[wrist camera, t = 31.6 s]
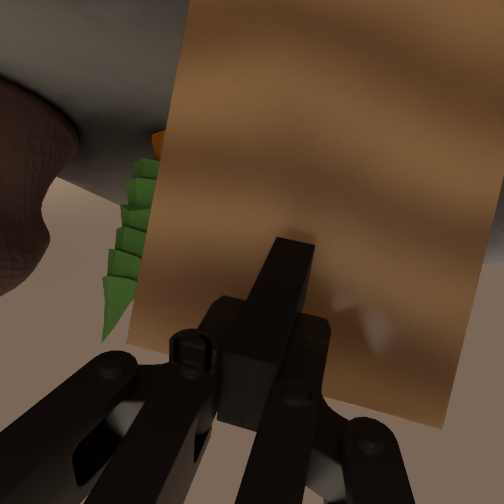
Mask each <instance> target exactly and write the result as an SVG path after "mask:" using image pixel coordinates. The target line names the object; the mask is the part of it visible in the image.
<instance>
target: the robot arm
mask: <svg viewBox="0 0 504 504" xmlns="http://www.w3.org/2000/svg"><path fill="white" fill-rule="evenodd" d="M314 250H315V245H314V244H309V243H305V242H300V241H295V240H290V239H286V238H281V237H276V239H275V241H274V243H273V245H272V247H271V249H270V251H269V254H268V256H267V258H266V260H265V262H264V264H263V266H262V268H261V270H260V272H259V274H258V277H257V279H256V281H255V283H254V285H253V287H252V289H251V291H250V293H249V295H248V298H247V300H243V299H238V298H234V297H230V296H226V295H223V296H221V297H220V298H218V299H217V300H215V301H214V302H212V304H211V306H210V307H209V309H208V311H207V313H206V314H205V316H204V318H203V319H202V322H201V323H200V325H199V326H198V328H197V329H194V328H191V329H184V330H181V331H179V332H177V333H175V334H174V335H173V336H172V337H171V338H170V339H169V362H168V363H164V364H158V365H138V363H137V361H136V359H135V357H134V356H132V355H131V354H130V353H127V352H124V351H108V352H104V353H101V354H100V355H98V356H96V357H95V358H93V359H92V360H91V361H89V362H88V363H87V364H86V365H84V366H83V367H82V368H81V369H79V370H78V371H77V372H76V373H74V374H73V375H72V376H70V377H69V378H68V379H67V380H65V381H64V382H63V383H62V384H60V385H59V386H58V387H57V388H55V389H54V390H53V391H52V392H51V393H49V394H48V395H47V396H46V397H44V398H43V399H42V400H40V401H39V402H38V403H37V404H35V405H34V406H33V407H31V408H30V409H29V410H28V411H26V412H25V413H24V414H23V415H21V416H20V417H19V418H18V419H17V420H15V421H14V422H13V423H11V424H10V425H9V426H8V427H6V428H5V429H4V430H3V431H1V432H0V504H80V503H81V502H82V501H83V500H84V498H85V497H86V496H87V495H88V494H89V493H90V494H89V495H88V497H87V499H86V500H85V502H84V504H183V503H184V501H185V498H186V496H187V493H188V491H189V488H190V486H191V483H192V481H193V478H194V476H195V474H196V471H197V469H198V466H199V464H200V461H201V459H202V456H203V454H204V451H205V449H206V447H207V444H208V441H209V439H210V437H211V431H212V422H213V419H214V417H215V415H216V413H217V420H218V421H221V422H225V423H228V424H231V425H235V426H238V427H242V428H245V429H248V430H252V431H255V432H257V433H256V437H255V440H254V443H253V446H252V449H251V453H250V456H249V459H248V462H247V466H246V469H245V472H244V475H243V478H242V482H241V485H240V488H239V491H238V494H237V498H236V501H235V504H302V500H303V494H304V489H305V486H307V487H308V488H310V489H311V490H313V491H314V492H315V493H317V494H318V495H320V496H321V497H323V498H324V504H415V501H414V497H413V494H412V491H411V487H410V483H409V480H408V476H407V473H406V470H405V466H404V463H403V459H402V456H401V452H400V449H399V445H398V442H397V440H396V438H395V436H394V434H393V432H392V431H391V430H390V429H389V428H388V427H387V426H386V425H384V424H383V423H380V422H379V421H378V420H376V419H372V418H368V417H358V418H354V419H352V420H350V421H349V420H347V419H346V418H344V417H342V416H340V415H339V414H337V413H336V412H334V411H333V410H332V409H331V408H330V407H329V406H328V405H327V403H326V402H325V400H324V398H323V395H322V383H323V377H324V371H325V366H326V360H327V354H328V349H329V343H330V337H331V332H332V330H331V327H330V325H329V322H328V320H327V319H326V318H322V317H318V316H314V315H309V314H305V313H302V309H303V306H304V302H305V297H306V292H307V286H308V281H309V276H310V271H311V265H312V260H313V255H314ZM217 410H218V411H217Z"/></svg>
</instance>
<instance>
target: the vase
mask: <svg viewBox="0 0 504 504" xmlns="http://www.w3.org/2000/svg"><path fill="white" fill-rule="evenodd" d="M78 147H79V141H78V137H77V134H76V131H75V130H74V128H73V126H72V125H71V124H70V123H69V122H68V120H67V119H66V118H65V117H64V116H63V115H62V114H61V113H59V112H58V111H57V110H56V109H55V108H53V107H52V106H50V105H49V104H48V103H46V102H45V101H43V100H42V99H40V98H39V97H37V96H35V95H34V94H32V93H30V92H28V91H27V90H25V89H23V88H21V87H19V86H17V85H15V84H13V83H11V82H9V81H7V80H4V79H2V78H0V296H2V295H4V294H5V293H7V292H9V291H11V290H12V289H14V288H16V287H17V286H18V285H19V284H21V283H22V282H23V281H24V280H26V278H27V277H28V276H29V275H30V274H31V273H32V272H33V271H34V269H35V268H36V266H37V264H38V263H39V262H40V260H41V258H42V256H43V255H44V253H45V251H46V249H47V248H48V246H49V243H50V234H49V231H48V229H47V227H46V225H45V223H44V221H43V218H42V213H41V207H42V201H43V199H44V197H45V195H46V193H47V190H48V188H49V186H50V185H51V183H52V182H53V180H54V179H55V178H56V176H57V175H58V174H59V172H60V171H61V170H62V169H63V168H64V167H65V166H66V165H67V164H68V163H69V162H70V161H71V160H72V159H73V158H74V157H75V155H76V153H77V151H78Z"/></svg>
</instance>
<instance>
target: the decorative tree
mask: <svg viewBox="0 0 504 504" xmlns="http://www.w3.org/2000/svg"><path fill="white" fill-rule="evenodd" d="M164 137H165V130H163V131H161V132H158V133H155V134H152V143H153V150H154V156H155V160H150V159H146V158H142V159H141V160H139V161H137V162H136V163H134V164H133V179H132V180H130V181H128V182H126V183H125V186H126V192H127V197H128V202H129V204H128V205H120V206H121V217H122V227H121V228H118V229H117V231H116V244H115V249H109V257H108V273H107V276H106V277H103V286H104V296H105V313H104V328H103V335H102V342H103V341H104V340H105V339H106V337H107V336H108V335H109V334H110V332H111V331H112V330H113V329H114V327H115V326H116V324H117V322H118V321H119V319H120V318H121V316H122V314H123V313H124V311H125V309H126V308H127V306H128V305H129V304H130V303H131V301H132V300H133V299H134V298H135V293H136V287H137V282H138V277H139V271H140V266H141V260H142V255H143V250H144V244H145V239H146V233H147V228H148V223H149V217H150V212H151V207H152V201H153V196H154V190H155V185H156V180H157V174H158V169H159V163H160V158H161V153H162V147H163V142H164ZM102 342H101V343H102Z"/></svg>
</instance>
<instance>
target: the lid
mask: <svg viewBox="0 0 504 504" xmlns="http://www.w3.org/2000/svg"><path fill="white" fill-rule="evenodd" d="M503 177H504V0H190V2H189V7H188V13H187V18H186V23H185V29H184V34H183V40H182V45H181V50H180V56H179V61H178V67H177V72H176V77H175V83H174V88H173V93H172V99H171V104H170V110H169V115H168V120H167V126H166V131H165V137H164V142H163V147H162V153H161V158H160V163H159V169H158V174H157V180H156V185H155V190H154V196H153V201H152V207H151V212H150V217H149V223H148V228H147V233H146V239H145V244H144V250H143V255H142V260H141V266H140V271H139V277H138V282H137V287H136V293H135V298H134V304H133V309H132V314H131V320H130V325H129V330H128V336H127V341H126V343H127V344H130V345H134V346H137V347H141V348H145V349H149V350H152V351H156V352H160V353H163V354H167V355H169V339H170V338H171V337H172V336H173V335H174V334H175V333H177V332H179V331H181V330H184V329H191V328H194V329H197V328H198V326H199V325H200V323H201V322H202V319H203V318H204V316H205V314H206V313H207V311H208V309H209V307H210V306H211V304H212V302H214V301H215V300H217V299H218V298H220V297H221V296H223V295H226V296H230V297H234V298H238V299H243V300H247V298H248V295H249V293H250V291H251V289H252V287H253V285H254V283H255V281H256V279H257V277H258V274H259V272H260V270H261V268H262V266H263V264H264V262H265V260H266V258H267V256H268V254H269V251H270V249H271V247H272V245H273V243H274V241H275V239H276V237H281V238H286V239H290V240H295V241H300V242H305V243H309V244H314V245H315V250H314V255H313V260H312V265H311V271H310V276H309V281H308V286H307V292H306V297H305V302H304V306H303V309H302V313H305V314H309V315H314V316H318V317H322V318H326V319H327V320H328V322H329V325H330V327H331V330H332V332H331V337H330V343H329V349H328V354H327V360H326V366H325V371H324V377H323V383H322V395H323V397H324V398H328V399H332V400H335V401H339V402H343V403H346V404H350V405H354V406H357V407H361V408H365V409H369V410H373V411H376V412H380V413H383V414H387V415H391V416H394V417H398V418H402V419H406V420H409V421H412V422H416V423H420V424H424V425H427V426H431V427H434V428H438V429H442V428H443V424H444V420H445V415H446V411H447V407H448V403H449V399H450V395H451V391H452V387H453V383H454V379H455V374H456V370H457V366H458V362H459V358H460V354H461V350H462V346H463V342H464V337H465V333H466V329H467V324H468V321H469V317H470V313H471V309H472V305H473V301H474V296H475V292H476V288H477V284H478V280H479V276H480V272H481V268H482V264H483V260H484V255H485V251H486V247H487V243H488V239H489V235H490V231H491V227H492V223H493V218H494V214H495V210H496V206H497V202H498V198H499V194H500V190H501V186H502V182H503Z"/></svg>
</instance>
